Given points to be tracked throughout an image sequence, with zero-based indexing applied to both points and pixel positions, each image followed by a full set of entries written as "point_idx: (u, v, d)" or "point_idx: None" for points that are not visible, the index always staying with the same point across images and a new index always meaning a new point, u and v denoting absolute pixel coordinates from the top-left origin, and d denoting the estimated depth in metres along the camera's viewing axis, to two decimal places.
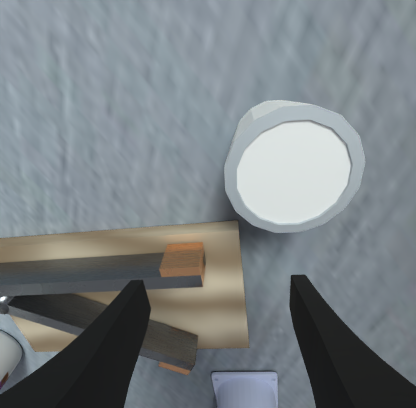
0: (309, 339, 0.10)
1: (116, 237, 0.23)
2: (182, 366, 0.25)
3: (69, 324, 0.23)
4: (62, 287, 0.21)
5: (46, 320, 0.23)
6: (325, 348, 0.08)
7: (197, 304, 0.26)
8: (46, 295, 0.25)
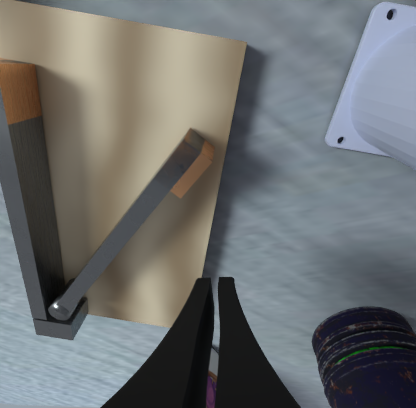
0: None
1: None
2: (187, 162, 0.15)
3: (86, 266, 0.19)
4: (22, 243, 0.18)
5: (79, 284, 0.20)
6: (219, 348, 0.09)
7: (124, 106, 0.17)
8: (79, 272, 0.22)
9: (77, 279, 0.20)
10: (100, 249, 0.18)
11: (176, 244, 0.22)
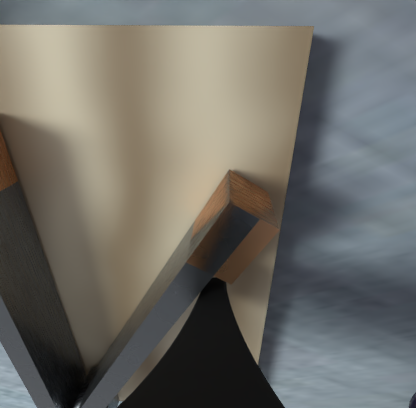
0: None
1: None
2: (238, 234, 0.09)
3: (106, 373, 0.14)
4: (17, 354, 0.13)
5: (100, 393, 0.15)
6: (207, 348, 0.09)
7: (130, 153, 0.11)
8: (100, 365, 0.17)
9: (97, 389, 0.14)
10: (121, 354, 0.13)
11: None
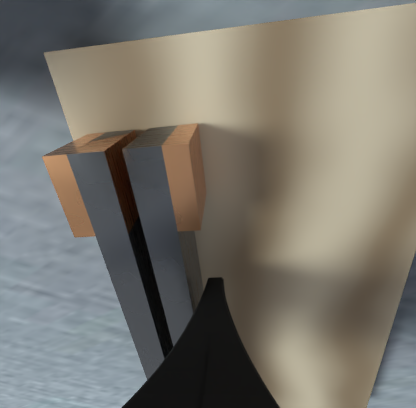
0: None
1: None
2: (158, 175, 0.08)
3: None
4: None
5: None
6: (204, 348, 0.09)
7: (270, 155, 0.11)
8: None
9: None
10: None
11: (347, 319, 0.15)
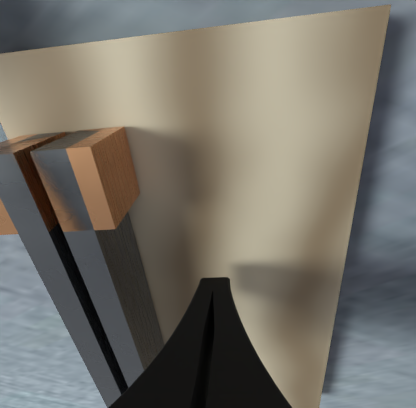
0: None
1: None
2: (67, 176, 0.09)
3: (124, 374, 0.14)
4: (97, 367, 0.14)
5: None
6: (213, 348, 0.09)
7: (197, 157, 0.11)
8: None
9: None
10: (114, 349, 0.13)
11: (290, 317, 0.16)
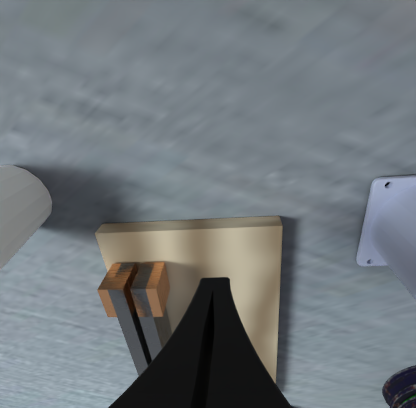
0: None
1: None
2: (144, 297, 0.20)
3: None
4: None
5: None
6: (213, 348, 0.09)
7: (199, 274, 0.23)
8: None
9: None
10: None
11: None
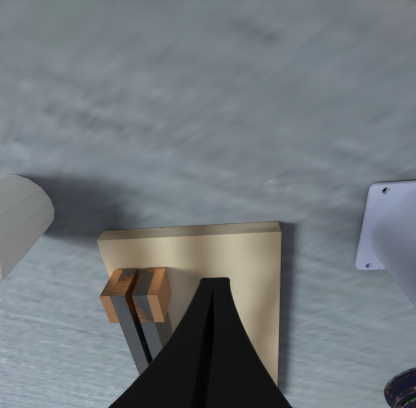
0: None
1: None
2: (146, 303, 0.20)
3: None
4: None
5: None
6: (213, 348, 0.09)
7: None
8: None
9: None
10: None
11: None
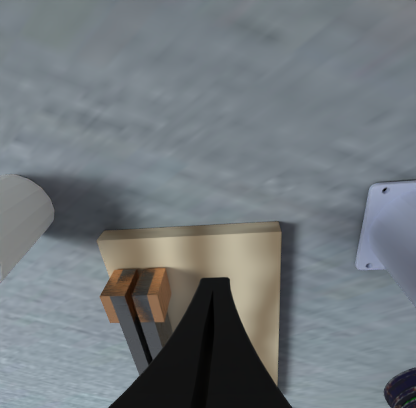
0: None
1: None
2: (146, 303, 0.20)
3: None
4: None
5: None
6: (213, 348, 0.09)
7: None
8: None
9: None
10: None
11: None
